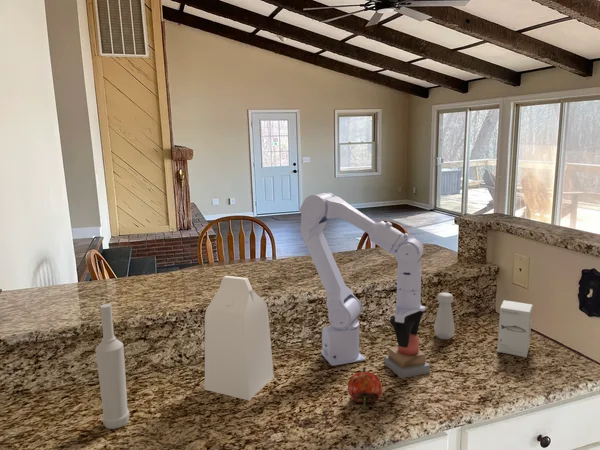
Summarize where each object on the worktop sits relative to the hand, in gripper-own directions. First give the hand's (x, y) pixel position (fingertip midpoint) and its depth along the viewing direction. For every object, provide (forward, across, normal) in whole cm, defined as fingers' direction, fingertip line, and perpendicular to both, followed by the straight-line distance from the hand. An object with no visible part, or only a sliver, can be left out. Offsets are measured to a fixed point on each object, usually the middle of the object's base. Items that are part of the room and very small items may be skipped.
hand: (407, 340), depth 113 cm
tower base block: (+8, 0, 0) cm, 8 cm away
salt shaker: (+7, +24, -4) cm, 25 cm away
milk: (+8, -26, +33) cm, 42 cm away
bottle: (+7, -50, +46) cm, 68 cm away
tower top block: (+5, 0, 0) cm, 5 cm away
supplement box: (+7, +23, -22) cm, 33 cm away
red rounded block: (+3, 0, 0) cm, 3 cm away
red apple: (+8, -20, +3) cm, 22 cm away
